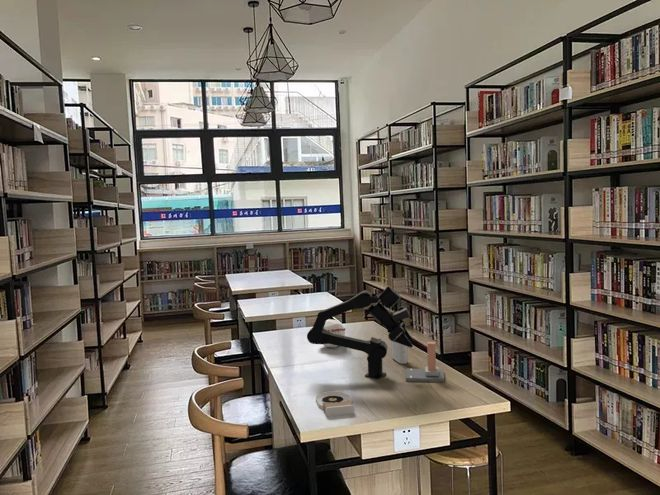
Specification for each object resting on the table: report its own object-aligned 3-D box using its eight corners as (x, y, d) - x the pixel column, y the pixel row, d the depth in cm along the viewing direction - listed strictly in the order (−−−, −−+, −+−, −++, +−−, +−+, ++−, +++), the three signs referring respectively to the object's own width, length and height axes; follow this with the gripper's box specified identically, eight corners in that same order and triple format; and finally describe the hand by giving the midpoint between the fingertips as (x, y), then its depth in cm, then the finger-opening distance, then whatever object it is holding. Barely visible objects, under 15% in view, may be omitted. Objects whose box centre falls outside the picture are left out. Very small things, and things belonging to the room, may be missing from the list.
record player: (322, 408, 171) (313, 388, 191) (322, 417, 171) (313, 397, 191) (357, 404, 173) (344, 385, 193) (358, 414, 173) (345, 394, 193)
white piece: (341, 347, 270) (335, 320, 273) (352, 342, 246) (346, 313, 249) (314, 353, 266) (309, 325, 270) (322, 348, 243) (316, 319, 246)
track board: (405, 381, 204) (405, 377, 203) (406, 371, 215) (406, 368, 215) (444, 381, 201) (444, 378, 201) (442, 372, 213) (442, 369, 213)
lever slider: (425, 375, 205) (424, 344, 204) (425, 370, 212) (424, 340, 211) (438, 375, 204) (438, 345, 203) (437, 370, 211) (437, 340, 210)
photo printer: (409, 363, 226) (408, 334, 226) (400, 364, 225) (399, 335, 224) (399, 357, 236) (398, 329, 235) (390, 358, 235) (389, 330, 234)
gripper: (396, 305, 199) (427, 335, 198) (398, 297, 217) (426, 324, 216) (376, 326, 200) (406, 355, 199) (379, 316, 219) (406, 343, 218)
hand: (412, 343), depth 208 cm, fingers open, 9 cm apart
